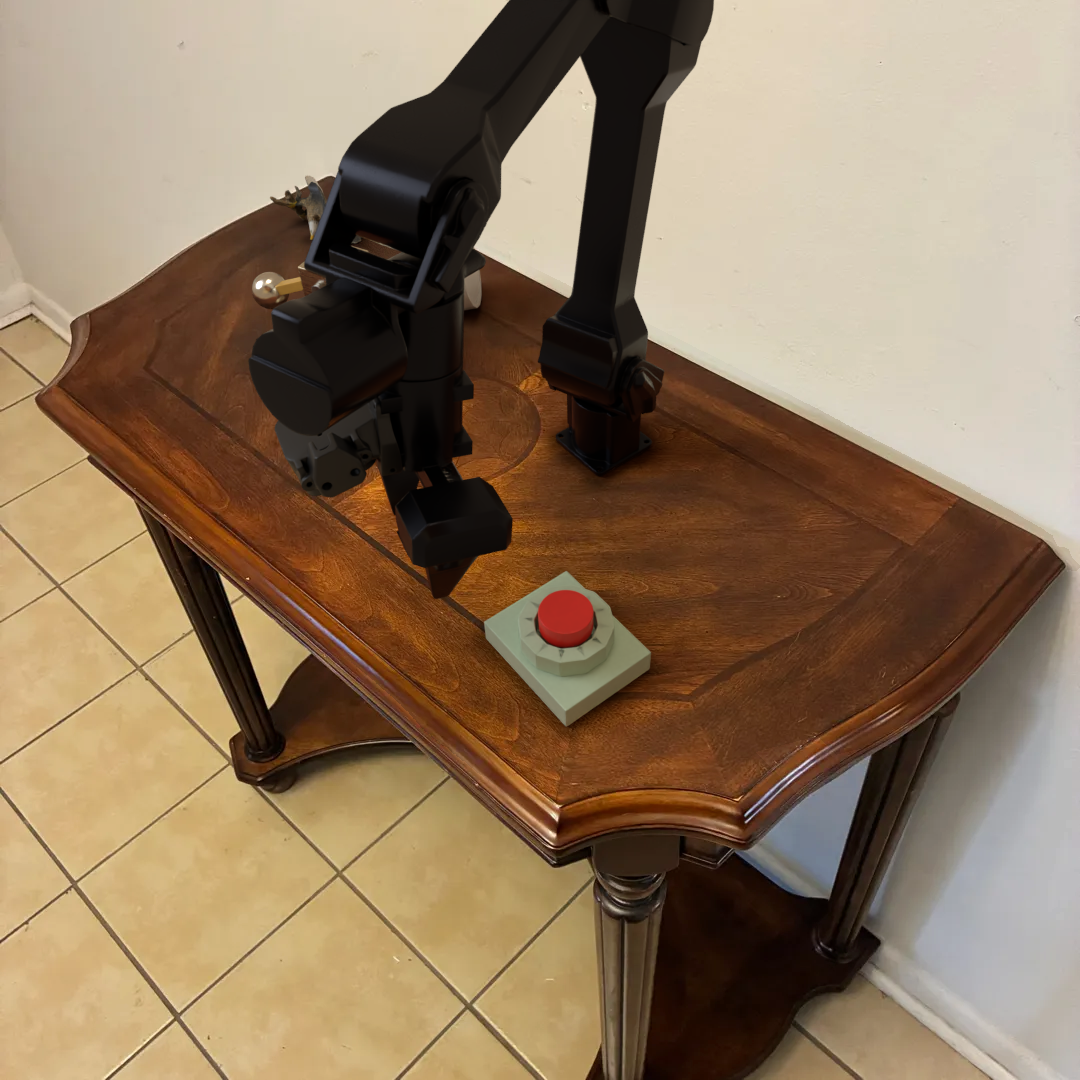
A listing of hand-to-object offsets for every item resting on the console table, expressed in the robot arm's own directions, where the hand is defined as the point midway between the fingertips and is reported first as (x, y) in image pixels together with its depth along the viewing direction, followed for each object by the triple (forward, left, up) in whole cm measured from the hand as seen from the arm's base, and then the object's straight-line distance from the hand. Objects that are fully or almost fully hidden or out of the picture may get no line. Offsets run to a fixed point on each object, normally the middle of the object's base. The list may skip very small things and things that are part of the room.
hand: (419, 553), depth 69 cm
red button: (-8, -7, -6) cm, 12 cm away
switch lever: (+37, -11, -4) cm, 39 cm away
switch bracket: (+33, -12, -10) cm, 37 cm away
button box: (-8, -7, -10) cm, 14 cm away
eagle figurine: (+56, -22, -10) cm, 61 cm away
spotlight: (+36, -24, -10) cm, 45 cm away
